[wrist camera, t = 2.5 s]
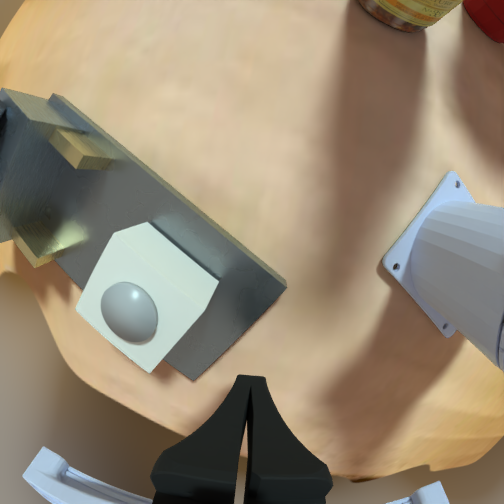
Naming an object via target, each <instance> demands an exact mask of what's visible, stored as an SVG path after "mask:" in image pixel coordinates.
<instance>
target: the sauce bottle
mask: <svg viewBox="0 0 504 504" xmlns="http://www.w3.org/2000/svg"><path fill="white" fill-rule="evenodd" d="M358 1H359V3H360V4H361V5H362V7H363V8H364V9H365V10H366V11H367V12H368V13H370V14H371V15H372V16H374V17H375V18H377V19H378V20H380V21H382V22H384V23H385V24H387V25H389V26H391V27H393V28H396V29H399V30H401V31H406V32H416V31H419V30H422V29H424V28H427V27H428V26H432V25H433V24H435V23H436V22H437V21H439V20H440V19H441V18H442V17H443V16H445V15H446V14H447V13H448V12H450V11H451V10H452V9H454V8H455V7H456V6H457V5H459V4H460V3H461V2H462V1H464V0H358Z"/></svg>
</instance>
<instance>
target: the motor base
mask: <svg viewBox="0 0 504 504" xmlns="http://www.w3.org/2000/svg"><path fill="white" fill-rule="evenodd" d="M145 222H148V223H149V224H150V225H152V226H153V227H154V228H155V229H156V230H157V231H159V232H160V233H161V234H162V235H163V236H164V237H166V238H167V239H168V240H169V241H170V242H171V243H173V244H174V245H175V246H176V247H177V248H179V249H180V250H181V251H182V252H183V253H185V254H186V255H187V256H188V257H189V258H191V259H192V260H193V261H194V262H195V263H197V264H198V265H199V266H200V267H201V268H203V269H204V270H205V271H206V272H208V273H209V274H210V275H211V276H213V277H214V278H215V279H216V280H218V281H219V283H218V285H217V287H216V289H215V291H214V293H213V295H212V297H211V299H210V301H209V303H208V305H207V307H206V309H205V311H204V312H203V313H202V314H201V315H200V316H199V318H198V319H197V320H196V321H195V322H194V323H193V324H192V326H191V327H190V328H189V329H188V330H187V331H186V333H185V334H184V335H183V336H182V337H181V338H180V339H179V341H178V342H177V343H176V344H175V345H174V346H173V347H172V349H171V350H170V351H169V352H168V353H167V354H166V355H165V357H164V358H163V360H165V361H166V362H167V363H169V364H170V365H171V366H173V367H174V368H176V369H177V370H178V371H180V372H181V373H183V374H184V375H186V376H187V377H188V378H190V379H191V380H193V381H194V380H195V379H196V378H197V377H198V376H199V375H200V374H202V373H203V372H204V371H205V370H206V369H207V368H208V367H209V366H210V365H211V364H212V363H213V362H214V361H215V360H216V359H217V358H218V357H219V356H220V355H221V354H222V353H224V352H225V351H226V350H227V349H228V348H229V347H230V346H231V345H232V344H233V343H234V342H235V341H236V340H237V339H238V338H239V337H240V336H241V335H242V334H243V333H244V332H245V331H246V330H247V329H248V328H249V327H250V326H251V325H252V324H253V323H254V322H255V321H256V320H257V319H258V318H259V317H260V316H261V315H262V314H263V313H264V311H265V310H266V309H267V308H268V307H269V306H270V305H271V304H272V303H273V302H274V301H275V300H276V299H277V298H278V297H279V296H280V295H281V294H282V293H283V292H284V291H285V290H286V288H287V284H286V280H285V279H283V278H282V277H281V276H280V275H279V274H277V273H276V272H275V271H274V270H273V269H271V268H270V267H269V266H268V265H266V264H265V263H264V262H263V261H262V260H260V259H259V258H258V257H257V256H256V255H254V254H253V253H252V252H251V251H249V250H248V249H247V248H246V247H245V246H243V245H242V244H241V243H240V242H239V241H237V240H236V239H235V238H234V237H232V236H231V235H230V234H229V233H228V232H226V231H225V230H224V229H223V228H222V227H220V226H219V225H218V224H217V223H215V222H214V221H213V220H212V219H211V218H209V217H208V216H207V215H206V214H205V213H203V212H202V211H201V210H200V209H198V208H197V207H196V206H195V205H194V204H192V203H191V202H190V201H189V200H188V199H186V198H185V197H184V196H183V195H182V194H180V193H179V192H178V191H177V190H175V189H174V188H173V187H172V186H171V185H169V184H168V183H167V182H166V181H165V180H163V179H162V178H161V177H160V176H158V175H157V174H156V173H155V172H154V171H152V170H151V169H150V168H149V167H148V166H146V165H145V164H144V163H143V162H141V161H140V160H139V159H138V158H137V157H135V156H134V155H133V154H132V153H131V152H129V151H128V150H127V149H126V148H125V147H123V146H122V145H121V144H120V143H118V142H117V141H116V140H115V139H114V138H112V137H111V136H110V135H109V134H108V133H106V132H105V131H104V130H103V129H102V128H100V127H99V126H98V125H97V124H95V123H94V122H93V121H92V120H91V119H89V118H88V117H87V116H86V115H85V114H83V113H82V112H81V111H80V110H79V109H77V108H76V107H75V106H74V105H72V104H71V103H70V102H69V101H68V100H66V99H65V98H64V97H63V96H60V95H57V94H54V93H53V94H52V96H51V97H50V99H49V100H47V99H44V98H40V97H37V96H33V95H29V94H26V93H22V92H18V91H14V90H10V89H6V88H2V89H1V91H0V243H2V242H5V241H8V240H12V239H13V241H14V242H15V244H16V245H17V246H18V248H19V249H20V250H21V252H22V253H23V254H24V256H25V257H26V258H27V260H28V261H29V262H30V263H31V265H32V266H33V267H34V268H37V267H39V266H41V265H43V264H46V263H48V262H50V261H53V260H55V261H56V262H57V263H58V265H59V266H60V267H61V268H62V269H63V270H64V271H65V272H66V273H67V274H68V275H69V276H70V278H71V279H72V280H73V281H74V282H75V283H76V284H77V285H78V286H79V287H80V288H81V289H82V290H83V291H84V289H85V287H86V284H87V282H88V280H89V278H90V276H91V274H92V272H93V270H94V268H95V266H96V264H97V263H98V261H99V259H100V257H101V255H102V253H103V251H104V249H105V248H106V246H107V244H108V242H109V240H110V239H111V237H112V235H113V234H114V233H115V232H118V231H121V230H124V229H127V228H130V227H133V226H136V225H139V224H142V223H145Z"/></svg>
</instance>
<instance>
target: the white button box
mask: <svg viewBox="0 0 504 504" xmlns="http://www.w3.org/2000/svg"><path fill="white" fill-rule="evenodd" d="M218 283H219V281H218V280H216V279H215V278H214V277H213V276H211V275H210V274H209V273H208V272H206V271H205V270H204V269H203V268H201V267H200V266H199V265H198V264H197V263H195V262H194V261H193V260H192V259H191V258H189V257H188V256H187V255H186V254H185V253H183V252H182V251H181V250H180V249H179V248H177V247H176V246H175V245H174V244H173V243H171V242H170V241H169V240H168V239H167V238H166V237H164V236H163V235H162V234H161V233H160V232H159V231H157V230H156V229H155V228H154V227H153V226H152V225H150V224H149V223H148V222H145V223H142V224H139V225H136V226H133V227H130V228H127V229H124V230H121V231H118V232H115V233H114V234H113V235H112V237H111V239H110V240H109V242H108V244H107V246H106V248H105V249H104V251H103V253H102V255H101V257H100V259H99V261H98V263H97V264H96V266H95V268H94V270H93V272H92V274H91V276H90V278H89V280H88V282H87V284H86V287H85V289H84V291H83V293H82V295H81V297H80V299H79V302H78V304H77V306H76V308H75V310H76V311H77V312H78V313H79V314H80V315H81V316H82V317H83V318H84V319H85V320H86V321H87V322H88V323H90V324H91V325H92V326H93V327H94V328H95V329H96V330H97V331H98V332H99V333H100V334H102V335H103V336H104V337H105V338H106V339H107V340H108V341H109V342H111V343H112V344H113V345H114V346H115V347H116V348H118V349H119V350H120V351H121V352H122V353H124V354H125V355H126V356H127V357H129V358H130V359H131V360H132V361H134V362H135V363H136V364H137V365H139V366H140V367H141V368H143V369H144V370H145V371H147V372H148V373H149V374H150V373H151V371H152V370H153V369H154V368H155V367H156V366H157V365H158V363H159V362H160V361H161V360H162V359H163V358H164V357H165V355H166V354H167V353H168V352H169V351H170V350H171V349H172V347H173V346H174V345H175V344H176V343H177V342H178V341H179V339H180V338H181V337H182V336H183V335H184V334H185V333H186V331H187V330H188V329H189V328H190V327H191V326H192V324H193V323H194V322H195V321H196V320H197V319H198V318H199V316H200V315H201V314H202V313H203V312H204V311H205V309H206V307H207V305H208V303H209V301H210V299H211V297H212V295H213V293H214V291H215V289H216V287H217V285H218Z"/></svg>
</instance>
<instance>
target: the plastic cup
mask: <svg viewBox="0 0 504 504" xmlns="http://www.w3.org/2000/svg"><path fill="white" fill-rule="evenodd" d="M463 3H464V6H465V9H466V10H467V12H468V13H469V15H470V17H471V18H472V19H473V20H474V22H475V23H476V24H477V25H478V27H479V28H480V29H481V30H482V31H483V32H484V33H485V34H486V35H487V36H489V37H490V38H491V39H493V40H494V41H496V42H498V43H504V0H464V1H463Z"/></svg>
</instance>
